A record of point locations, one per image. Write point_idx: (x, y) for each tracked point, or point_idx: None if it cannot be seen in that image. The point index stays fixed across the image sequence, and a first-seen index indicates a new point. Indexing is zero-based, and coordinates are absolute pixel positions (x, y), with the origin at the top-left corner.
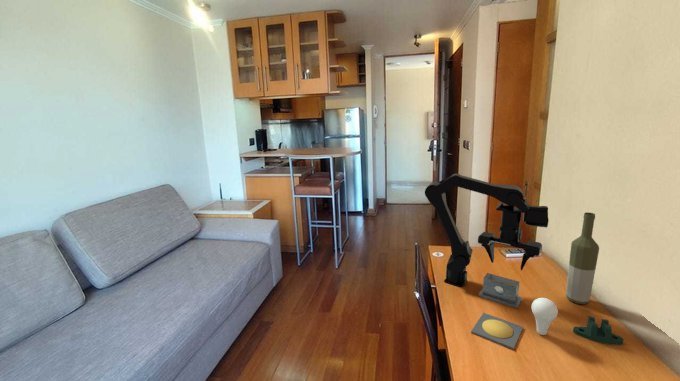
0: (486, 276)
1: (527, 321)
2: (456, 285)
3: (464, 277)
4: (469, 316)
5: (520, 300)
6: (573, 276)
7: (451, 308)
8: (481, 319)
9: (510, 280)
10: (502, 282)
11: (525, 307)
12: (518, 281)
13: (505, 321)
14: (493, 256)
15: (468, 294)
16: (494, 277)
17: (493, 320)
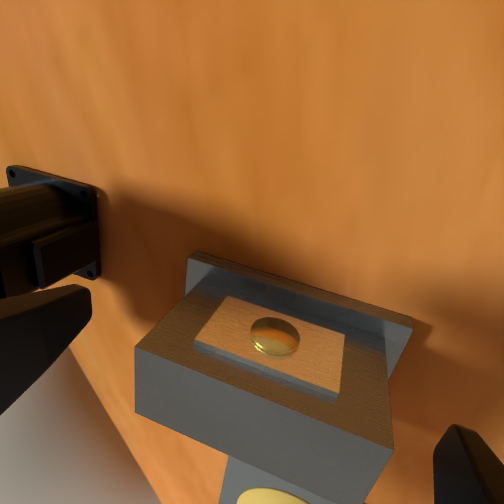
0: (144, 400)
1: (407, 474)
2: (80, 272)
3: (65, 277)
4: (193, 456)
5: (397, 360)
6: None
7: (133, 423)
8: (230, 483)
9: (313, 437)
10: (255, 464)
11: (420, 380)
12: (384, 447)
13: (311, 494)
14: (5, 348)
15: (149, 326)
16: (194, 405)
17: (268, 493)
